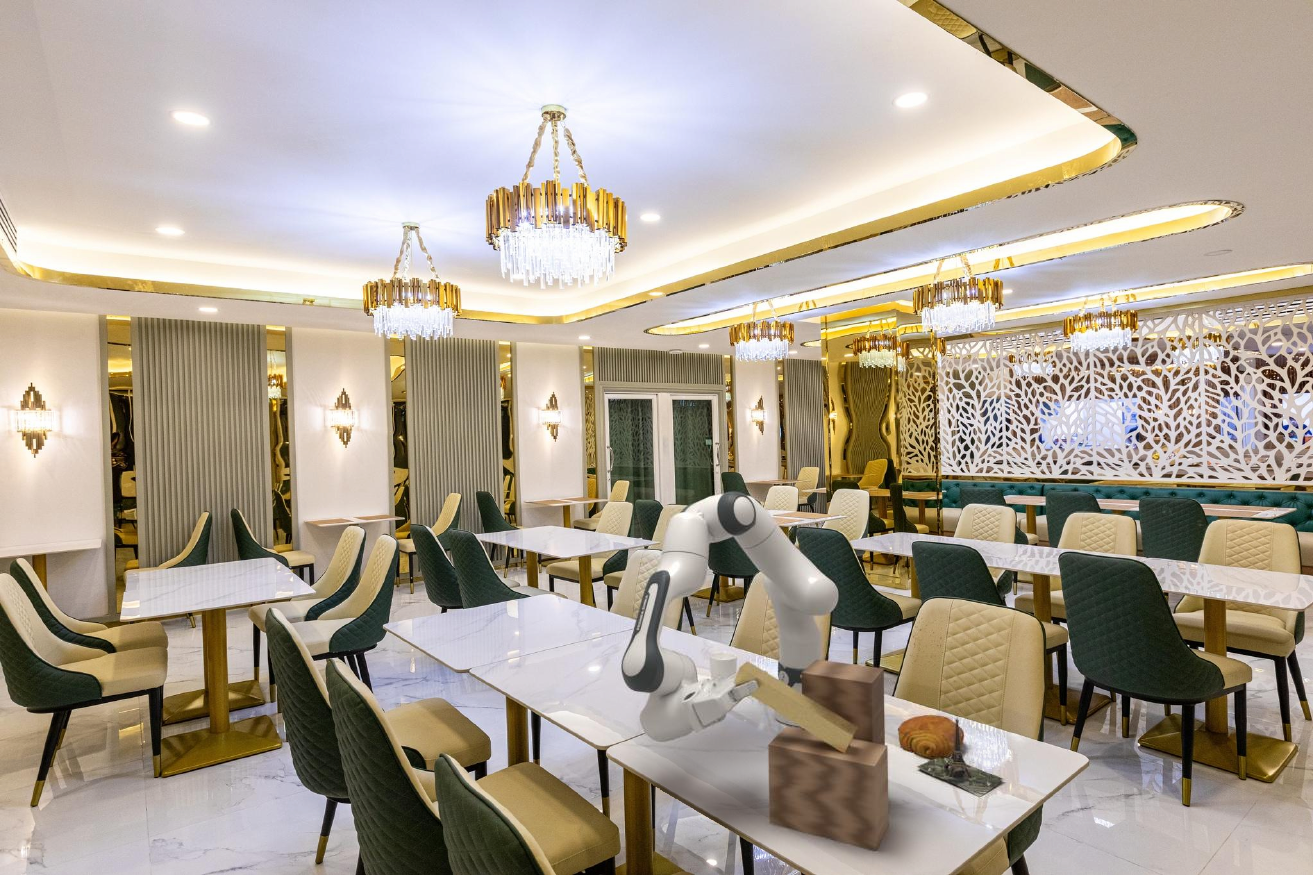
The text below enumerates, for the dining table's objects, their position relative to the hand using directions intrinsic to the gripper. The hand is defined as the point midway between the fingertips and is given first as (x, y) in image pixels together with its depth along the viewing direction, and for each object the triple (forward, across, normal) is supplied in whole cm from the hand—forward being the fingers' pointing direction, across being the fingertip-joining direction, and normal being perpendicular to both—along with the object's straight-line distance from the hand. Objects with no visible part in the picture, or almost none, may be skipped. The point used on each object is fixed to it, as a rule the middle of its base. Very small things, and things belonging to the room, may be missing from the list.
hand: (762, 679), depth 146 cm
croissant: (+8, -45, -36) cm, 58 cm away
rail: (+2, 0, -8) cm, 8 cm away
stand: (-1, -5, -29) cm, 29 cm away
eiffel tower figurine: (+15, -32, -39) cm, 53 cm away
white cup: (-44, -59, -8) cm, 74 cm away
